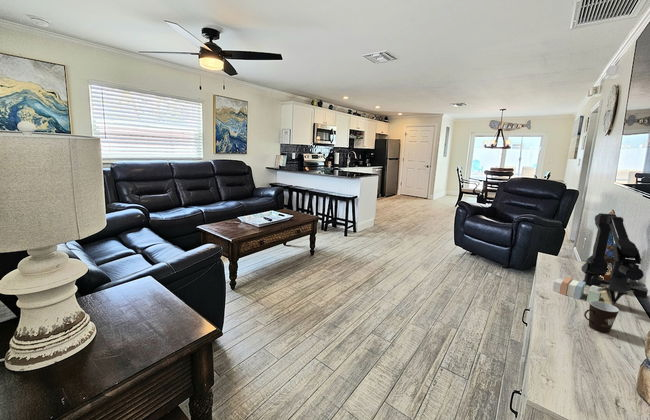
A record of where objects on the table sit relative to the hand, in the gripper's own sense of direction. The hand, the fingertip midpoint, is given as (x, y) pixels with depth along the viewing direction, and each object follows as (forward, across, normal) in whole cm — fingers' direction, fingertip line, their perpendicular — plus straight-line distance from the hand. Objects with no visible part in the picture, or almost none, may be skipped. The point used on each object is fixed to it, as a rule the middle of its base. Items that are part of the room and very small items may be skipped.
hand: (614, 303), depth 138 cm
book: (+2, -7, 0) cm, 7 cm away
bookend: (0, -2, 0) cm, 3 cm away
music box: (+2, -9, +39) cm, 40 cm away
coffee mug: (+2, -3, -30) cm, 30 cm away
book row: (+1, -17, 0) cm, 17 cm away
